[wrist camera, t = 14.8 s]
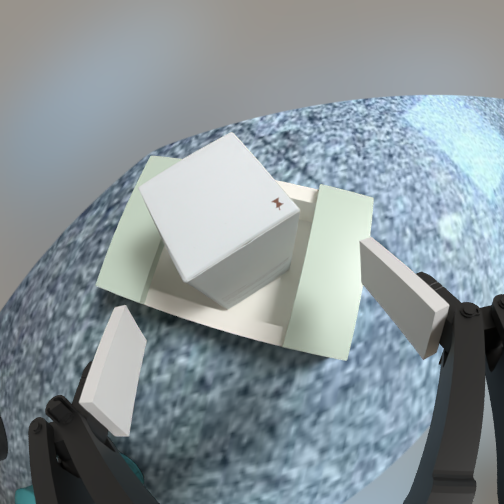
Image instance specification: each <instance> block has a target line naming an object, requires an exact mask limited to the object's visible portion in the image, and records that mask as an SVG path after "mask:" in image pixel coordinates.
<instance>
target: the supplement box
mask: <svg viewBox="0 0 504 504" xmlns="http://www.w3.org/2000/svg"><path fill="white" fill-rule="evenodd" d="M138 189H139V191H140V193H141V195H142V197H143V200H144V202H145V204H146V206H147V208H148V211H149V213H150V215H151V217H152V219H153V221H154V224H155V226H156V228H157V230H158V232H159V234H160V236H161V238H162V241H163V243H164V245H165V247H166V249H167V251H168V253H169V255H170V257H171V259H172V261H173V263H174V265H175V267H176V269H177V270H178V272H179V274H180V276H181V278H182V280H183V282H185V283H187V284H189V285H190V286H192V287H194V288H195V289H197V290H199V291H200V292H201V293H203V294H204V295H206V296H207V297H209V298H210V299H212V300H213V301H215V302H216V303H218V304H219V305H221V306H223V307H225V308H226V309H230V308H231V307H233V306H235V305H236V304H238V303H240V302H241V301H243V300H244V299H246V298H247V297H249V296H251V295H252V294H254V293H255V292H257V291H258V290H260V289H261V288H263V287H264V286H266V285H267V284H269V283H270V282H272V281H273V280H275V279H276V278H278V277H279V276H281V275H282V274H284V273H285V272H287V271H288V270H290V265H291V260H292V254H293V249H294V244H295V238H296V232H297V227H298V221H299V215H300V209H299V208H298V206H297V205H296V204H295V203H294V202H293V201H292V199H291V198H290V197H289V196H288V195H287V194H286V192H285V191H284V190H283V189H282V188H281V187H280V185H279V184H278V183H277V182H276V181H275V180H274V179H273V177H272V176H271V175H270V174H269V173H268V172H267V170H266V169H265V168H264V167H263V166H262V165H261V163H260V162H259V161H258V160H257V159H256V158H255V156H254V155H253V154H252V153H251V152H250V151H249V150H248V149H247V147H246V146H245V145H244V144H243V143H242V142H241V141H240V140H239V138H238V137H237V136H236V135H235V134H234V133H232V132H231V133H229V134H227V135H225V136H223V137H221V138H219V139H218V140H216V141H214V142H212V143H210V144H209V145H207V146H205V147H203V148H201V149H200V150H198V151H196V152H194V153H193V154H191V155H189V156H187V157H186V158H184V159H182V160H181V161H179V162H177V163H176V164H174V165H172V166H171V167H169V168H168V169H166V170H164V171H163V172H161V173H160V174H158V175H156V176H155V177H153V178H152V179H150V180H149V181H147V182H145V183H144V184H142V185H141V186H139V187H138Z"/></svg>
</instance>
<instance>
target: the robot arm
mask: <svg viewBox="0 0 504 504" xmlns="http://www.w3.org/2000/svg"><path fill="white" fill-rule="evenodd" d="M359 243H360V262H361V283H362V284H363V285H364V286H365V287H366V289H367V290H368V291H369V292H370V293H371V295H372V296H373V297H374V298H375V299H376V301H377V302H378V303H379V304H380V305H381V307H382V308H383V309H384V310H385V311H386V313H387V314H388V315H389V316H390V318H391V319H392V320H393V321H394V323H395V324H396V325H397V326H398V328H399V329H400V330H401V331H402V333H403V334H404V335H405V337H406V338H407V339H408V340H409V342H410V343H411V344H412V346H413V347H414V348H415V349H416V351H417V352H418V353H419V355H420V356H421V357H422V359H423V360H424V359H426V358H428V357H429V356H431V355H433V354H435V353H436V352H437V349H438V346H439V343H440V345H441V346H442V347H443V348H444V350H443V353H442V356H441V359H440V361H439V364H440V365H441V369H440V377H439V384H438V390H437V396H436V401H435V406H434V411H433V416H432V421H431V425H430V429H429V433H428V437H427V441H426V444H425V448H424V451H423V455H422V458H421V461H420V465H419V468H418V471H417V473H416V476H415V479H414V482H413V485H412V487H411V490H410V492H409V494H408V496H407V497H406V499H405V500H404V502H403V504H472V502H473V499H474V495H475V491H476V481H475V480H474V478H473V473H474V468H475V464H476V459H477V454H478V448H479V442H480V436H481V429H482V420H483V410H484V397H485V376H486V380H487V385H488V390H489V395H490V401H491V407H492V413H493V420H494V428H495V438H496V450H497V489H498V490H497V494H498V503H499V504H504V294H500V295H497V296H495V297H494V299H493V302H492V305H491V306H486V307H482V308H479V307H478V306H477V305H475V304H473V303H470V302H463V303H461V302H460V301H459V300H458V299H457V298H456V297H454V296H453V295H452V294H451V293H450V292H449V291H448V290H447V289H445V288H444V287H442V285H441V284H440V283H439V282H438V283H437V281H436V280H435V279H434V278H433V277H432V276H430V275H428V274H426V273H423V272H419V273H417V274H415V273H414V272H413V271H412V270H410V269H409V268H408V267H407V266H406V265H405V264H403V263H402V262H401V261H400V260H399V259H398V258H396V257H395V256H394V255H393V254H392V253H390V252H389V251H388V250H387V249H385V248H384V247H383V246H382V245H381V244H379V243H378V242H377V241H376V240H374V239H373V238H372V237H370V238H366V239H363V240H360V241H359ZM146 342H147V340H146V339H145V337H144V336H143V334H142V332H141V331H140V329H139V327H138V325H137V324H136V322H135V320H134V319H133V317H132V315H131V313H130V312H129V310H128V308H127V306H126V305H123V306H119V307H115V308H114V310H113V312H112V315H111V317H110V319H109V322H108V324H107V327H106V329H105V331H104V334H103V336H102V339H101V341H100V344H99V346H98V349H97V352H96V354H95V357H94V360H93V361H92V362H89V363H88V365H87V366H86V367H85V369H84V371H83V374H82V376H81V379H80V382H79V385H78V388H77V390H76V393H75V396H74V399H73V402H72V404H71V403H70V402H69V401H68V400H67V399H66V398H65V397H64V396H62V395H57V396H55V397H53V398H52V399H51V400H50V401H49V402H48V404H47V405H46V409H45V412H46V415H47V416H48V417H50V418H51V419H52V420H53V422H50V423H48V422H47V421H46V420H45V419H44V418H41V417H38V418H36V419H34V420H33V421H32V422H31V424H30V426H29V431H28V435H29V455H30V467H31V476H32V484H33V490H34V496H35V502H36V504H159V503H158V502H157V501H156V499H155V498H154V497H153V496H152V495H151V494H150V492H149V491H148V490H147V489H146V488H145V486H144V485H143V484H142V483H141V481H140V480H139V479H138V477H137V476H136V475H135V474H134V472H133V471H132V470H131V468H130V467H129V465H128V464H127V463H126V461H125V460H124V458H123V457H122V456H121V454H120V453H119V451H118V450H117V448H116V447H115V445H114V444H113V442H112V441H111V439H110V438H109V437H107V434H108V430H109V431H110V432H111V433H112V434H113V435H114V436H129V433H130V426H131V419H132V413H133V407H134V401H135V396H136V390H137V385H138V379H139V374H140V369H141V365H142V360H143V355H144V351H145V346H146ZM7 451H8V448H7V439H6V434H5V430H4V426H3V423H2V420H1V417H0V461H1V460H4V459H5V458H6V456H7ZM56 457H57V458H58V462H57V459H56Z"/></svg>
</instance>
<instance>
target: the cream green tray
mask: <svg viewBox="0 0 504 504" xmlns="http://www.w3.org/2000/svg"><path fill="white" fill-rule="evenodd" d="M181 160H182V159H177V158H168V157H159V156H150V158H149V160H148V162H147V164H146V166H145V168H144V170H143V172H142V174H141V176H140V178H139V180H138V182H137V184H136V186H135V188H134V190H133V192H132V195H131V197H130V199H129V201H128V203H127V206H126V208H125V210H124V212H123V215H122V217H121V219H120V222H119V224H118V226H117V229H116V231H115V234H114V236H113V239H112V241H111V244H110V246H109V249H108V252H107V254H106V257H105V260H104V263H103V265H102V268H101V271H100V274H99V277H98V280H97V283H96V286H98V287H100V288H103V289H105V290H107V291H110V292H112V293H115V294H117V295H120V296H122V297H125V298H128V299H130V300H133V301H136V302H138V303H141V304H144V305H147V306H149V307H152V308H155V309H158V310H161V311H163V312H166V313H169V314H172V315H175V316H178V317H181V318H184V319H187V320H190V321H193V322H196V323H199V324H203V325H206V326H209V327H212V328H216V329H219V330H222V331H226V332H229V333H233V334H236V335H240V336H243V337H247V338H251V339H254V340H258V341H262V342H266V343H270V344H273V345H277V346H282V347H285V348H289V349H293V350H298V351H302V352H307V353H311V354H316V355H320V356H325V357H330V358H335V359H340V360H345V361H347V358H348V354H349V350H350V346H351V341H352V337H353V333H354V328H355V323H356V319H357V314H358V309H359V304H360V298H361V293H362V287H363V284H362V283H361V262H360V243H359V241H360V240H363V239H366V238H370V231H371V222H372V212H373V200H374V198H372V197H369V196H365V195H361V194H358V193H354V192H350V191H346V190H342V189H338V188H334V187H330V186H326V185H322V184H320V187H319V190H317V189H313V188H309V187H304V186H300V185H295V184H291V183H286V182H281V181H276V180H275V181H276V182H277V183H278V184H279V185H280V187H281V188H282V189H283V190H284V191H285V192H286V194H287V195H288V196H289V197H290V198H291V199H292V201H293V202H294V203H295V204H296V205H297V206H298V208H299V209H300V215H299V221H298V227H297V232H296V238H295V244H294V249H293V254H292V260H291V265H290V270H288V271H287V272H285V273H284V274H282V275H281V276H279V277H278V278H276V279H275V280H273V281H272V282H270V283H269V284H267V285H266V286H264V287H263V288H261V289H260V290H258V291H257V292H255V293H254V294H252V295H251V296H249V297H247V298H246V299H244V300H243V301H241V302H240V303H238V304H236V305H235V306H233V307H231V308H230V309H226V308H225V307H223V306H221V305H219V304H218V303H216V302H215V301H213V300H212V299H210V298H209V297H207V296H206V295H204V294H203V293H201V292H200V291H199V290H197V289H195V288H194V287H192V286H190V285H189V284H187V283H185V282H183V280H182V278H181V276H180V274H179V272H178V270H177V269H176V267H175V265H174V263H173V261H172V259H171V257H170V255H169V253H168V251H167V249H166V247H165V245H164V243H163V241H162V238H161V236H160V234H159V232H158V230H157V228H156V226H155V224H154V221H153V219H152V217H151V215H150V213H149V211H148V208H147V206H146V204H145V202H144V200H143V197H142V195H141V193H140V191H139V189H138V187H139V186H141V185H142V184H144V183H145V182H147V181H149V180H150V179H152V178H153V177H155V176H156V175H158V174H160V173H161V172H163V171H164V170H166V169H168V168H169V167H171V166H172V165H174V164H176V163H177V162H179V161H181Z"/></svg>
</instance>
